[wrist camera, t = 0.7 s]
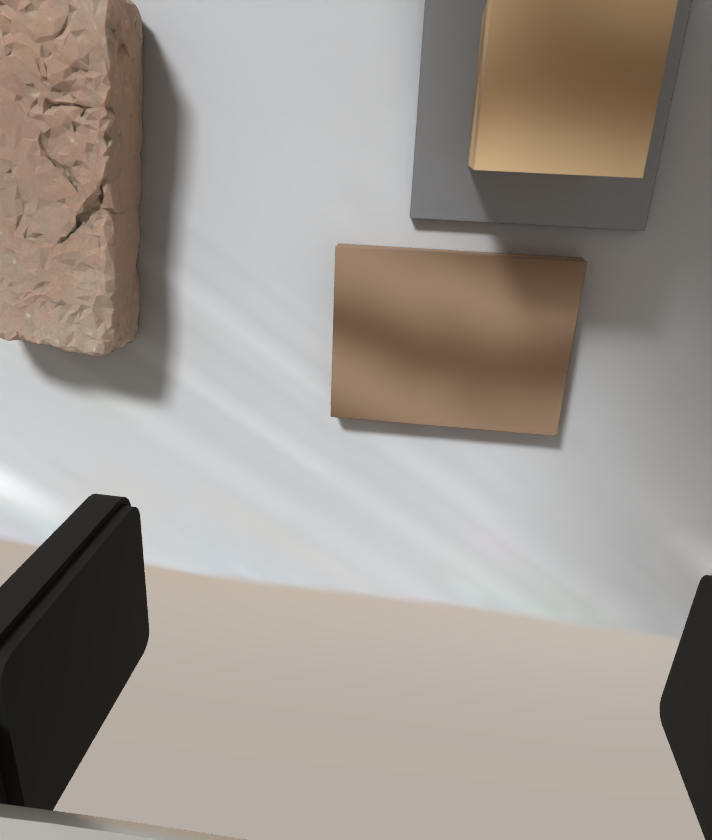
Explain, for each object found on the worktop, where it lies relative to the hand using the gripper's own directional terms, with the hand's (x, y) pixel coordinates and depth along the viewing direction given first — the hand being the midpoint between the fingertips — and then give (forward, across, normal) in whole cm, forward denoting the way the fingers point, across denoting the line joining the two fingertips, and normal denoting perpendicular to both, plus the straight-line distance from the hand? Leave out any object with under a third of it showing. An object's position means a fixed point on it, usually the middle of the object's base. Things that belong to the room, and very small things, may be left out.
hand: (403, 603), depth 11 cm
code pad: (+25, -4, -9) cm, 27 cm away
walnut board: (+25, -1, +2) cm, 25 cm away
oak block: (+24, -4, -9) cm, 26 cm away
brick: (+26, +19, -4) cm, 32 cm away
